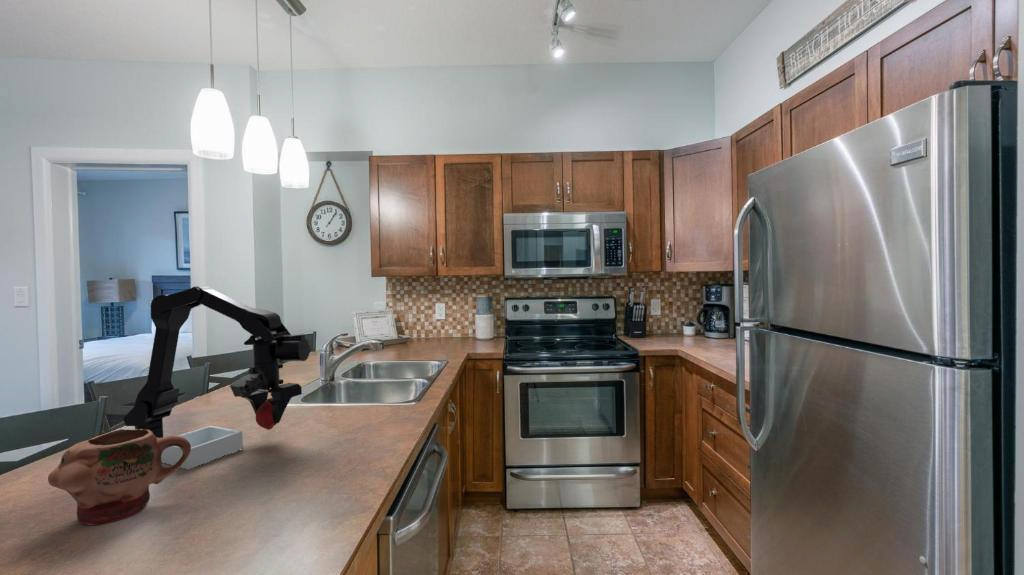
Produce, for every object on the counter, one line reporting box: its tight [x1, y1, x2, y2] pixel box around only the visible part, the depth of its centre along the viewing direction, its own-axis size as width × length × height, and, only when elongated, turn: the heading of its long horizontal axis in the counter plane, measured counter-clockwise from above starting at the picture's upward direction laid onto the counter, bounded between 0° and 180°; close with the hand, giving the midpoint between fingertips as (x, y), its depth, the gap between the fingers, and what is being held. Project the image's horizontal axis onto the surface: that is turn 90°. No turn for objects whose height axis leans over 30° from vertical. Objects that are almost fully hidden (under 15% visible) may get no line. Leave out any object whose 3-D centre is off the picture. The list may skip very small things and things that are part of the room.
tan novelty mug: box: [47, 428, 191, 526], centre depth 83 cm, size 20×12×14 cm, turn 133°
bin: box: [161, 425, 244, 470], centre depth 108 cm, size 13×13×4 cm
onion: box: [255, 397, 277, 431], centre depth 115 cm, size 6×6×8 cm
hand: (268, 421), depth 115 cm, fingers closed on onion, 6 cm apart
